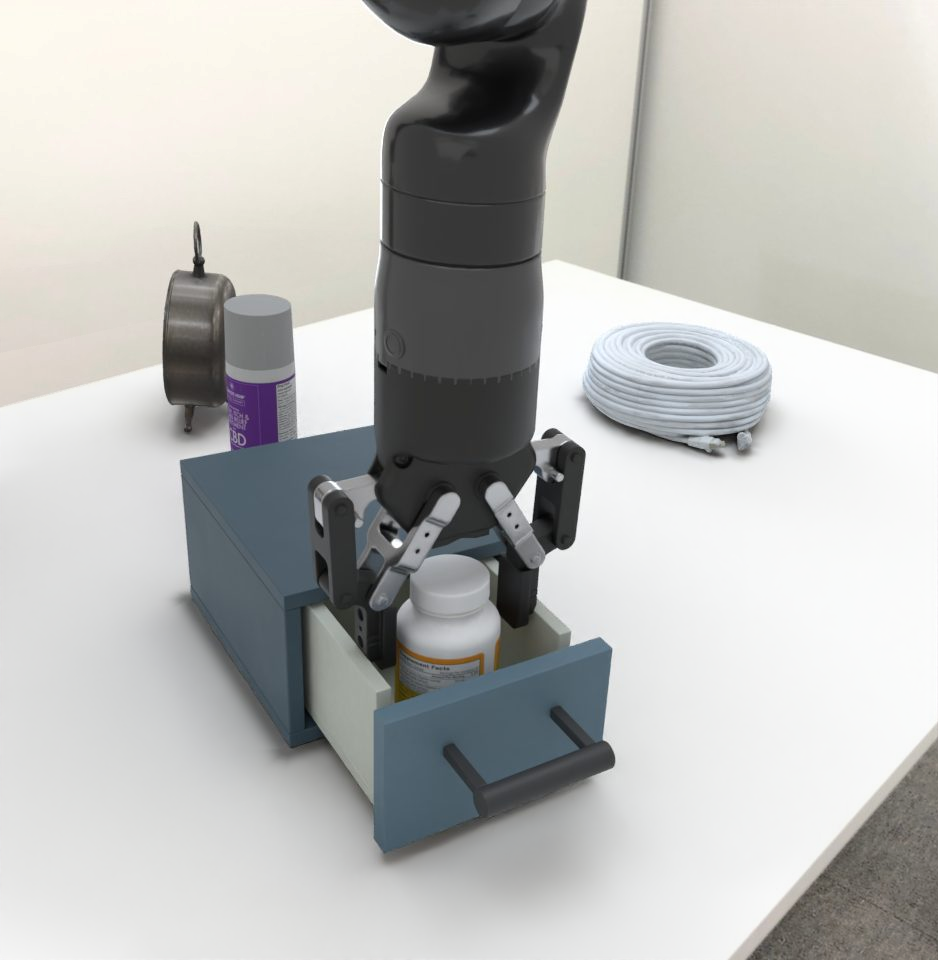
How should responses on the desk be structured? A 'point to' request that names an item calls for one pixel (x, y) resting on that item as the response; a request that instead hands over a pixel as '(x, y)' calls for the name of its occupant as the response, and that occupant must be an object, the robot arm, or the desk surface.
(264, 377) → the container
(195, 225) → the alarm clock
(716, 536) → the desk surface
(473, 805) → the drawer
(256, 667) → the cabinet
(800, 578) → the desk surface
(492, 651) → the supplement bottle
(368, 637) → the robot arm
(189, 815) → the desk surface
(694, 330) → the cable
